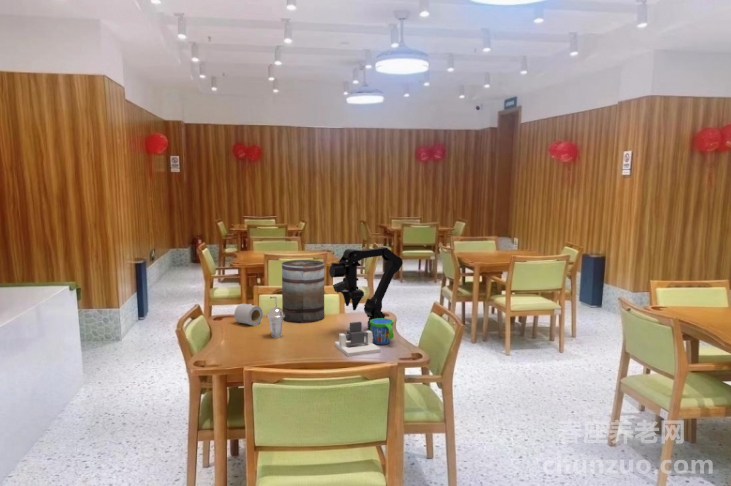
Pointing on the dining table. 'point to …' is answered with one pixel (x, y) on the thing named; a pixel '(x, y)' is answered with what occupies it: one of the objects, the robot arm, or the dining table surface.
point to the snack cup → (381, 330)
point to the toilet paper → (248, 314)
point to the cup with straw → (276, 320)
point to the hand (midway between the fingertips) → (350, 308)
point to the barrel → (303, 291)
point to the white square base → (360, 350)
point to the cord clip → (356, 333)
